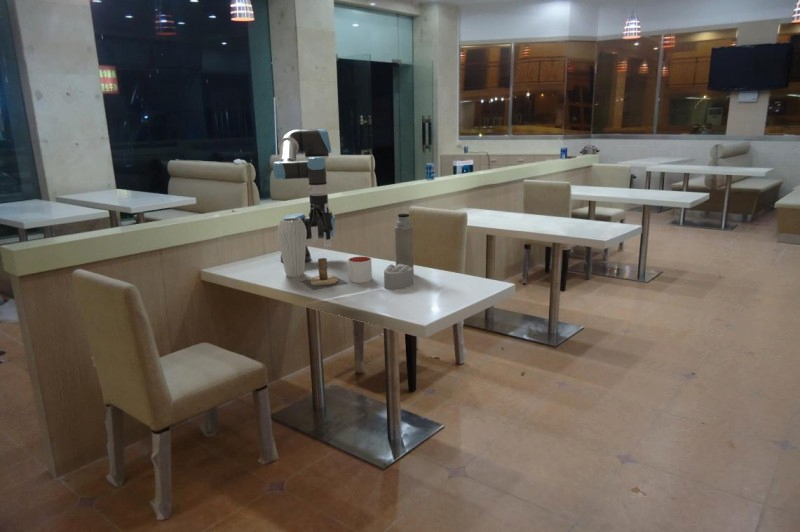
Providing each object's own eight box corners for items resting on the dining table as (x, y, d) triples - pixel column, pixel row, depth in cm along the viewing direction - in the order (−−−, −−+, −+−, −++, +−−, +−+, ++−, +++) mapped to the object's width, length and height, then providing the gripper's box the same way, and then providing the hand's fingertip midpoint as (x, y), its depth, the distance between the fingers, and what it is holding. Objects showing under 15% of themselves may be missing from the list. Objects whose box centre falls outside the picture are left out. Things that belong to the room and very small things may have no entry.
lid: (305, 281, 248) (304, 258, 245) (330, 276, 254) (329, 254, 251) (316, 287, 238) (314, 263, 235) (342, 283, 244) (340, 259, 241)
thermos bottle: (400, 271, 262) (399, 212, 254) (416, 273, 258) (415, 213, 251) (393, 276, 255) (391, 215, 247) (409, 278, 251) (408, 216, 244)
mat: (299, 282, 249) (299, 281, 249) (333, 276, 257) (332, 275, 257) (313, 291, 236) (313, 289, 236) (348, 284, 244) (348, 283, 243)
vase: (312, 278, 255) (308, 220, 248) (282, 281, 251) (277, 223, 244) (307, 270, 267) (303, 216, 260) (278, 273, 263) (274, 218, 256)
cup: (368, 284, 243) (367, 262, 240) (346, 284, 245) (345, 261, 242) (374, 278, 252) (373, 256, 250) (352, 277, 254) (352, 256, 252)
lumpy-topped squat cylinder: (416, 284, 243) (416, 264, 240) (396, 291, 233) (396, 271, 231) (398, 280, 249) (397, 261, 247) (378, 287, 240) (377, 267, 237)
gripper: (299, 192, 245) (302, 240, 250) (321, 198, 224) (325, 250, 229) (315, 190, 248) (318, 238, 254) (339, 196, 228) (341, 247, 233)
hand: (321, 244), depth 241 cm, fingers open, 13 cm apart
